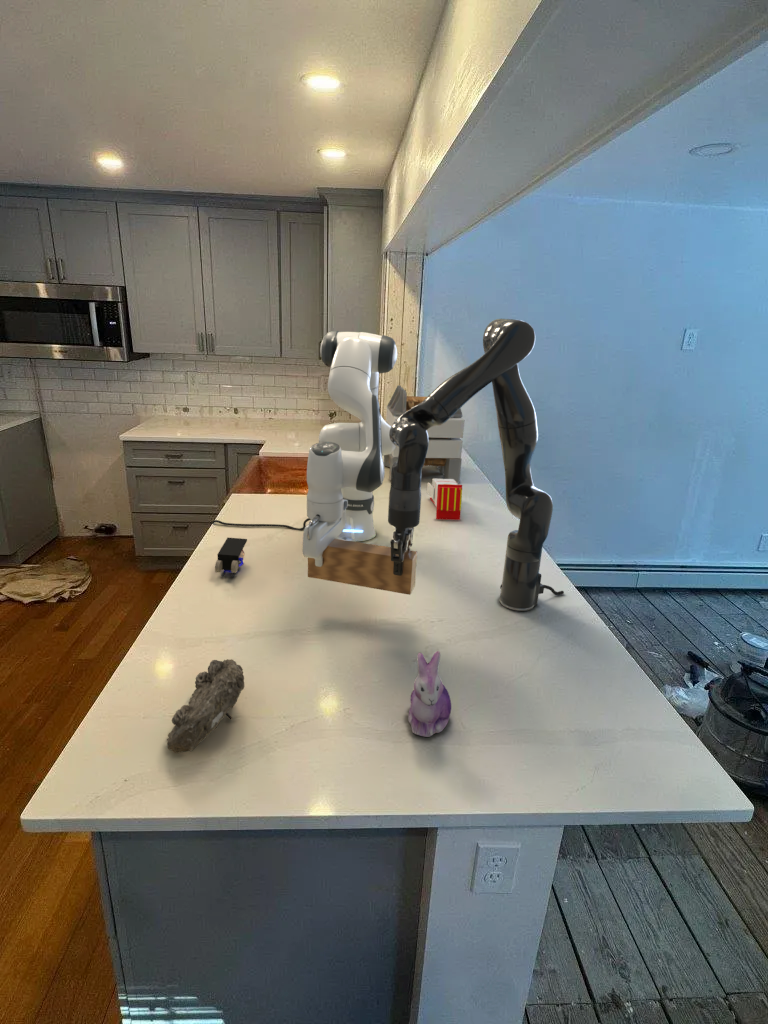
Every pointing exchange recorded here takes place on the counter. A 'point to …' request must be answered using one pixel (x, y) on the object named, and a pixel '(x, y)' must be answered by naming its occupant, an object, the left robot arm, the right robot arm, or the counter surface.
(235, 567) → the figurine character
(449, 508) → the toy
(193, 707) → the fossil
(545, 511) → the right robot arm
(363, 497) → the left robot arm
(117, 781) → the counter surface
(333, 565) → the bar
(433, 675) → the figurine
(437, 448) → the transformer
